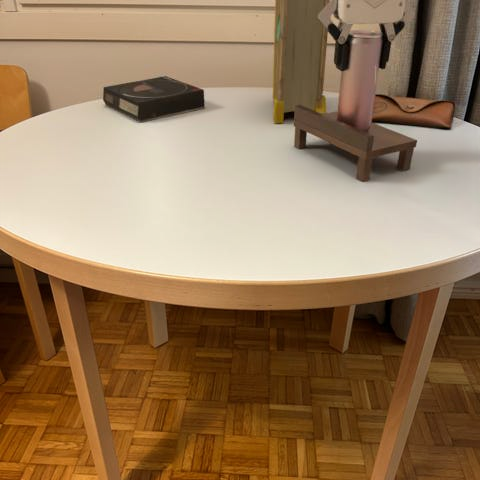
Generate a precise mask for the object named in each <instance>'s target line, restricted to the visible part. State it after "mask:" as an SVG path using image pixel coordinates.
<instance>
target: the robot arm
mask: <svg viewBox="0 0 480 480" xmlns="http://www.w3.org/2000/svg"><path fill="white" fill-rule="evenodd" d="M332 15H333V17H334V18H335V19H337V20H338V23H337V25H336V24H335V23H334V22H333V20H332V19H331V17H332ZM415 16H416V11H415V10H414V8H413V7H412V5H411V4H410V2H409V0H330V2H329V3H328V4H327V5H326V6H325V7H324V8H323V10H322V11H321V12H320V13H319V14H318V20H319V21H320V22H321V23H322V24H323V26H324V27H325V28H326V30H327V31H328V34H329V35H330V36H331V38H332V39H333V40H334V41H335V43H334V53H333V54H334V55H333V65H335V68H336V69H337V70H339V72H341V71H345V70H346V65H347V55H348V44H347V43H346V39H347V36H348V34H349V32H350V31H352V30H351V29H352V27H353V25H371V24H378V25H379V32H382V34H383V35H382V40H383V43H382V51H381V58H380V65H379V70H385V69H386V68H387V63H389V60H390V54H391V49H392V42H394V41H395V40H396V37H397V36H398V35H399V34H400V33H401V32H402V31H403V29H404V28H405V26H406V25H408V23H409V22H411V21H412V19H414V17H415Z"/></svg>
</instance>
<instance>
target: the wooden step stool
mask: <svg viewBox="0 0 480 480" xmlns="http://www.w3.org/2000/svg"><path fill="white" fill-rule="evenodd" d="M337 111H338V110H336V111H331V112H326V113H325V114H321V113H318V112H316V111H314V110H311V109H309V108H306V107H304V106H302V105H297V106H295V111H294V112H293V113H294V116H293V127H294V140H293V141H294V142H293V147H294V148H296V149H299V150H300V149H301V150H302V149H305V148H306V147H307V133H308V134H310V135H312V136H315V137H316V138H318V139H321V140H323V141H325V142H327V143H329V144H331V145H333V146H336V147H338V148H340V149H342V150H343V151H346V152H348V153H350V154H352V155H354V156H357V157H358V160H357V169H356V175H355V179H356V180H358V181H360V182H366V181H370V179H371V174H372V173H371V171H372V167H373V158H377V157H378V158H379V157H381V156H382V157H383V156H385V155H390V154H394V153H398V158H397V163H396V169H398V168H399V169H398V170H400V169H401V170H400V171H402V170H404V171H407V170H406V169H408V170H410V169H411V166H412V160H413V155H414V149H415V148H416V147H417V144H418V140H417V139H415V138H413V137H410V136H407V135H405V134H403V133H401V132H397V131H395V130H393V129H390V128H388V127H385V126H382V125H380V124H376V123H374V122H373V121H372V122H371V127H370V128H369V130H368V131H367V132H364V131H361V130H359V129H357V128H354V127H352V126H349V125H347V124H345V123H342V122H340V121H338V120H337ZM409 168H410V169H409Z"/></svg>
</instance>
